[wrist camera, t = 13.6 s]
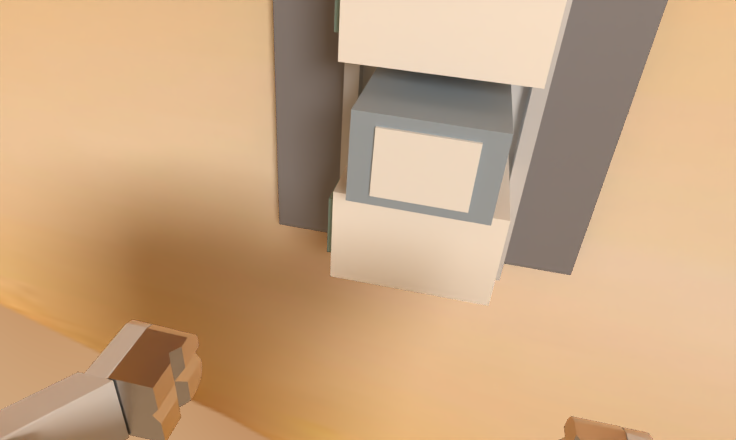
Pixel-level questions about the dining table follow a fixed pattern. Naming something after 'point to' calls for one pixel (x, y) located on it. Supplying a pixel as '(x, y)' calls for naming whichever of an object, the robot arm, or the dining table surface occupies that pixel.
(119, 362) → the robot arm
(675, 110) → the dining table surface
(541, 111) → the rail plate
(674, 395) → the dining table surface
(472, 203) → the block
